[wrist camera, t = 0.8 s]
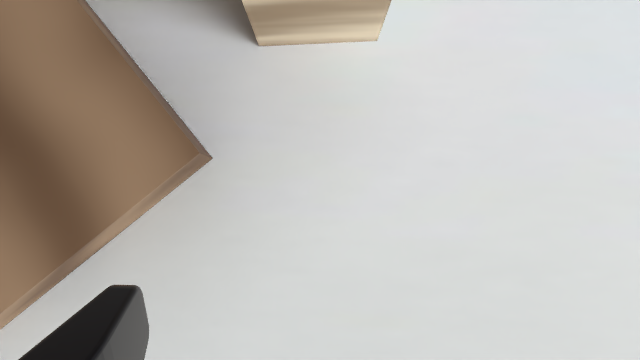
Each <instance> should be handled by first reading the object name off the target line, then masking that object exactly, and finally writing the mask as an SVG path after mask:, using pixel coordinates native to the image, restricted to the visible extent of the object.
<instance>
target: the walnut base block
mask: <svg viewBox="0 0 640 360" xmlns="http://www.w3.org/2000/svg"><path fill="white" fill-rule="evenodd" d="M211 159H212V157H211V156H210V155H209V153H208V152H207V151H206V150H205V148H204V147H203V146H202V145H201V143H200V142H199V141H198V140H197V138H196V137H195V136H194V135H193V133H192V132H191V131H190V130H189V129H188V127H187V126H186V125H185V124H184V122H183V121H182V120H181V119H180V117H179V116H178V115H177V114H176V112H175V111H174V110H173V109H172V107H171V106H170V105H169V104H168V103H167V101H166V100H165V99H164V98H163V96H162V95H161V94H160V93H159V91H158V90H157V89H156V88H155V86H154V85H153V84H152V83H151V81H150V80H149V79H148V78H147V76H146V75H145V74H144V73H143V72H142V70H141V69H140V68H139V67H138V65H137V64H136V63H135V62H134V60H133V59H132V58H131V57H130V55H129V54H128V53H127V52H126V50H125V49H124V48H123V47H122V46H121V44H120V43H119V42H118V41H117V39H116V38H115V37H114V36H113V34H112V33H111V32H110V31H109V29H108V28H107V27H106V26H105V24H104V23H103V22H102V21H101V20H100V18H99V17H98V16H97V15H96V13H95V12H94V11H93V10H92V8H91V7H90V6H89V5H88V3H87V2H86V1H85V0H0V329H2V328H3V327H4V326H5V325H6V324H8V323H9V322H10V321H11V320H13V319H14V318H15V317H16V316H18V315H19V314H20V313H21V312H23V311H24V310H25V309H26V308H28V307H29V306H30V305H31V304H33V303H34V302H35V301H36V300H37V299H39V298H40V297H41V296H42V295H44V294H45V293H46V292H47V291H49V290H50V289H51V288H52V287H54V286H55V285H56V284H57V283H59V282H60V281H61V280H62V279H64V278H65V277H66V276H67V275H69V274H70V273H71V272H72V271H73V270H75V269H76V268H77V267H78V266H80V265H81V264H82V263H83V262H85V261H86V260H87V259H88V258H90V257H91V256H92V255H93V254H95V253H96V252H97V251H98V250H100V249H101V248H102V247H103V246H104V245H106V244H107V243H108V242H109V241H111V240H112V239H113V238H114V237H116V236H117V235H118V234H119V233H121V232H122V231H123V230H124V229H126V228H127V227H128V226H129V225H131V224H132V223H133V222H134V221H135V220H137V219H138V218H139V217H140V216H142V215H143V214H144V213H145V212H147V211H148V210H149V209H150V208H152V207H153V206H154V205H155V204H157V203H158V202H159V201H160V200H162V199H163V198H164V197H165V196H167V195H168V194H169V193H170V192H171V191H173V190H174V189H175V188H176V187H178V186H179V185H180V184H181V183H183V182H184V181H185V180H186V179H188V178H189V177H190V176H191V175H193V174H194V173H195V172H196V171H198V170H199V169H200V168H201V167H202V166H204V165H205V164H206V163H207V162H209V161H210V160H211Z"/></svg>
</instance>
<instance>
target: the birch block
mask: <svg viewBox="0 0 640 360" xmlns="http://www.w3.org/2000/svg"><path fill="white" fill-rule="evenodd" d="M242 3H243V5H244V8H245V10H246V13H247V16H248V18H249V21H250V23H251V26H252V29H253V31H254V34H255V36H256V39H257V42H258V44H259V46H275V45H297V44H319V43H341V42H363V41H377V40H378V37H379V34H380V31H381V29H382V26H383V23H384V20H385V17H386V14H387V11H388V9H389V6H390V3H391V0H242Z"/></svg>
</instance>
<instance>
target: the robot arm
mask: <svg viewBox="0 0 640 360" xmlns="http://www.w3.org/2000/svg"><path fill="white" fill-rule="evenodd" d="M148 339H149V324H148V319H147V313H146V308H145V303H144V298H143V293H142V291H141V289H140V287H138V286H136V285H112V286H110V287H108V288H107V289H105V290H104V291H103V292H102V293H100V294H99V295H98V296H97V297H95V298H94V299H93V300H92V301H90V302H89V303H88V304H87V305H85V306H84V307H83V308H82V309H81V310H79V311H78V312H77V313H76V314H74V315H73V316H72V317H71V318H69V319H68V320H67V321H66V322H64V323H63V324H62V325H61V326H59V327H58V328H57V329H56V330H55V331H53V332H52V333H51V334H50V335H48V336H47V337H46V338H45V339H43V340H42V341H41V342H40V343H38V344H37V345H36V346H35V347H33V348H32V349H31V350H30V351H29V352H27V353H26V354H25V355H24V356H22V357H21V358H20V359H19V360H144V358H145V353H146V349H147V344H148Z"/></svg>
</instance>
